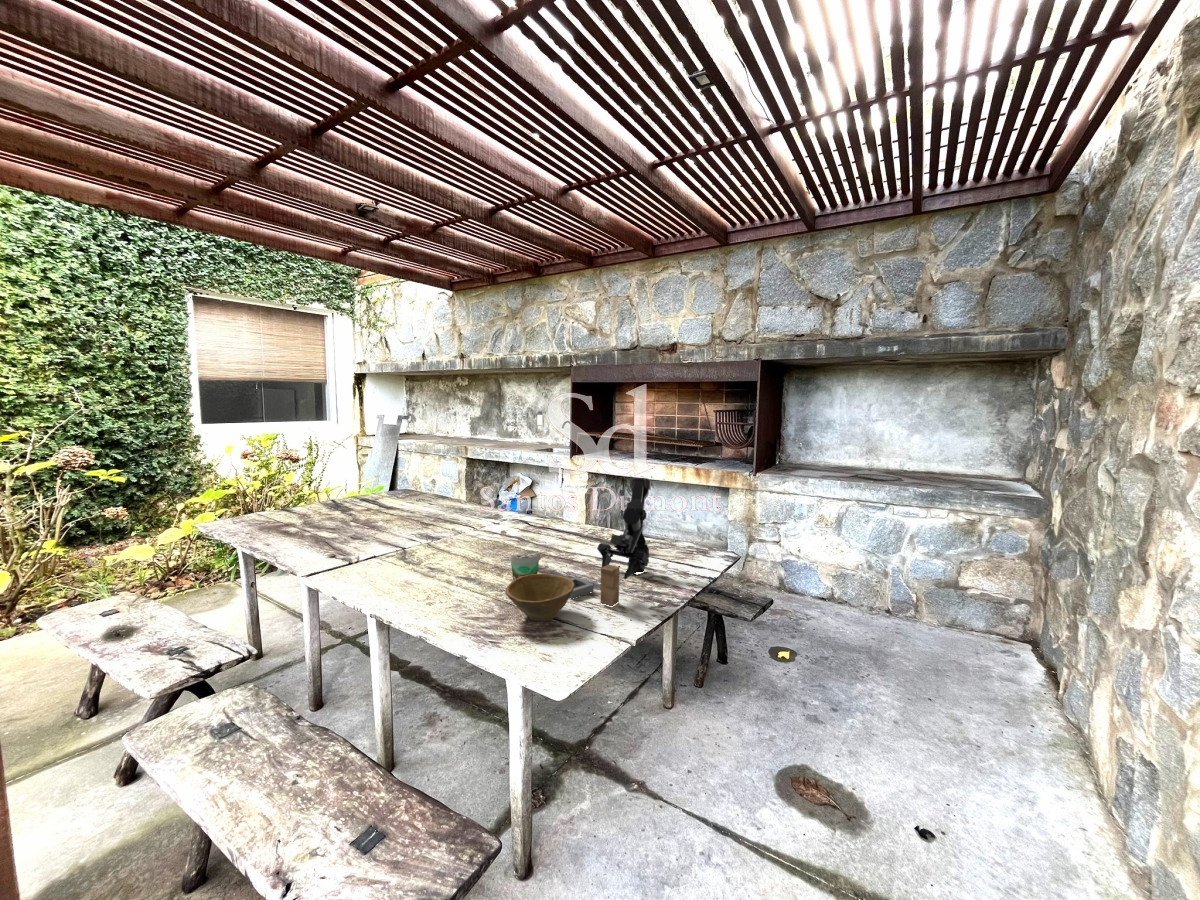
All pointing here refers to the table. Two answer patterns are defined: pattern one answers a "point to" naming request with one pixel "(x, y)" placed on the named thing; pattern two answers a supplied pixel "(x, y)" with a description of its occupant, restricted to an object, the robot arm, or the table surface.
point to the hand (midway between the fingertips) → (613, 575)
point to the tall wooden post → (609, 585)
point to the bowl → (540, 595)
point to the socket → (581, 587)
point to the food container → (524, 565)
